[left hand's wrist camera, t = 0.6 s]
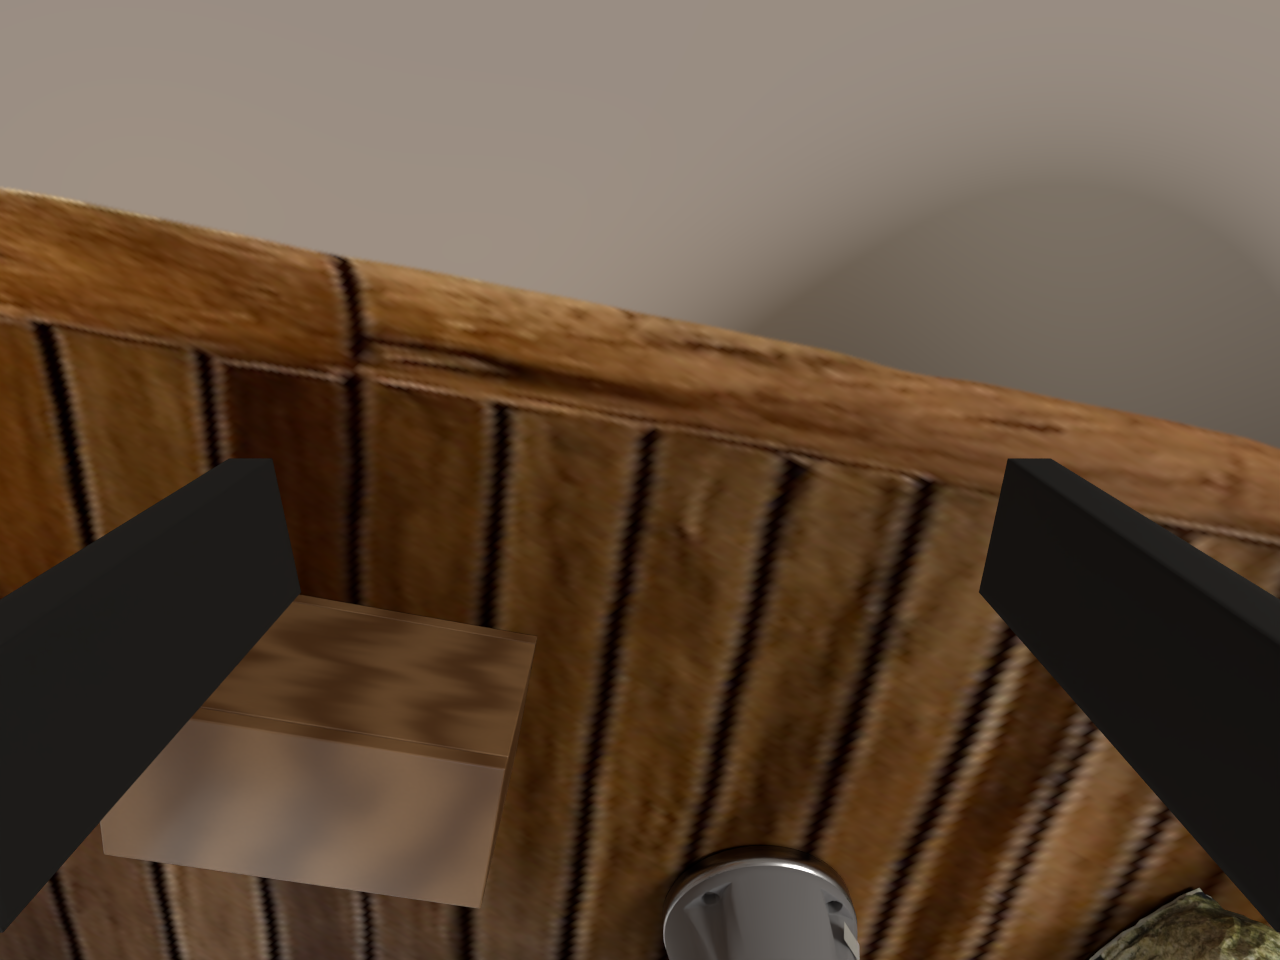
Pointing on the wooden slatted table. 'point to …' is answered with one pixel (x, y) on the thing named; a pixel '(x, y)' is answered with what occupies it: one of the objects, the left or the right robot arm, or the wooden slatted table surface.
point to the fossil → (1194, 934)
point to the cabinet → (343, 758)
